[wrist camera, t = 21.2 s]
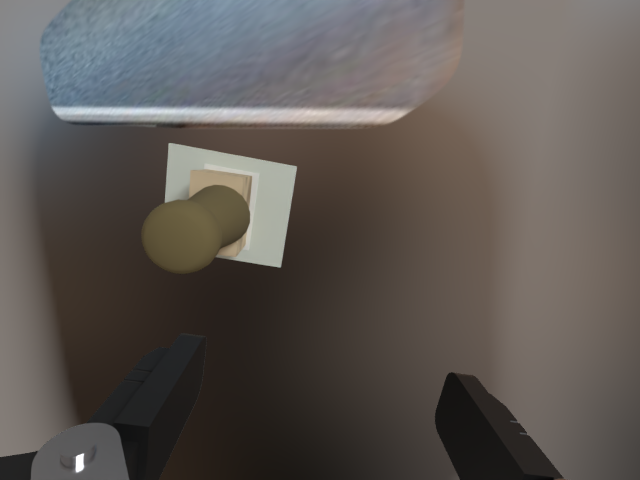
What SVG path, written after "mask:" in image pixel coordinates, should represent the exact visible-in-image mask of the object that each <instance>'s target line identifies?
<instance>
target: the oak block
mask: <svg viewBox="0 0 640 480" xmlns="http://www.w3.org/2000/svg"><path fill="white" fill-rule="evenodd" d="M212 185H225V186H227V187H230V188H232V189H234V190H236V191H237V192H238V193H239V194H241V195H242V196H243V198H244V199H245V201H246V202H247V204H248V207H249V206H250V196H251V186H252V176H249V175H243V174H236V173H229V172H223V171H216V170H209V169H201V170H190V188H189V198H190V197H192V196H193V195H194V194H196V193H197V192H198V191H200V190H202V189H203V188H205V187H207V186H212ZM246 236H247V232H246V233H245V234H244V235H243V236H242V238H241V239H239V240H237V241H236V242H234V243H232V244H230V245H228V246H226V247H223V248H221V249H219V252H218V254H217V255H224V256H232V257H236V256H237V255H238V254H239V253H240V251H241V250H242V249H243V248H244V246H245V245H246Z"/></svg>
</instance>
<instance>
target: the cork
mask: <svg viewBox="0 0 640 480" xmlns="http://www.w3.org/2000/svg"><path fill="white" fill-rule="evenodd" d="M249 224H250V211H249V207H248V204H247V202H246V201H245V199H244V198H243V196H242V195H241V194H239V193H238V192H237V191H236V190H234V189H232V188H230V187H227V186H225V185H212V186H207V187H205V188H203V189H202V190H200V191H198V192H197V193H196V194H194V195H193V196H192V197H190V198H189V199H188V200H179V199H178V200H174V201H170V202H166V203H163V204H161V205H160V206H158V207H156V208H155V209H153V211H152V212H151V213H150V214H149V216H148V217H147V218H146V219H145V221H144V224H143V228H142V231H141V233H142V244H143V247H144V249H145V252H146V254H147V255H148V257H149V258H150V259H151V260H152V262H153V263H155V264H156V265H157V266H159V267H160V268H162V269H163V270H166V271H169V272H172V273H177V274H187V273H191V272H196V271H199V270H201V269H203V268H204V267H206V266H207V265H209V264H210V263H211V262H212V260H213V259H214V258H215V257H216V256H217V254H218V252H219V249H221V248H223V247H226V246H228V245H230V244H232V243H234V242H236V241H237V240H239V239H241V238H242V236H243V235H244V234H245V233H246V232H247V229H248V227H249Z"/></svg>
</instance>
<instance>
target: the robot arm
mask: <svg viewBox="0 0 640 480" xmlns="http://www.w3.org/2000/svg"><path fill="white" fill-rule="evenodd" d="M206 342H207V339H206V337H205V336H197V335H191V334H184V333H182V334H180V335H179V337H178V338H177V339H176V341H175V342H174V343H173V345H172V346H171V347H170V348H162V347H159V348H157V349H155V350H154V351H152V352H150V353H148V354H147V355H145V356H143V358H142V359H141V360H140V361H139V362H138V364H137V365H136V366H135V367H134V368H133V371H131V372H130V373H129V374H128V375H127V376H126V378H125V379H124V381H123V382H121V383H120V384H119V386H118V387H117V388H116V389H115V390H114V392H113V393H112V394H111V395H110V396H109V397H108V398H107V400H106V401H105V402H104V403H103V404H102V405H101V407H100V408H99V409H98V410H97V411H96V412H95V414H94V415H93V416H92V417H91V418H90V419H89V421H88V422H87V423H86V424H82V425H78V426H75V427H72V428H70V429H67V430H65V431H63V432H61V433H59V434H58V435H56V436H55V437H53V438H52V439H50V440H49V441H48V442H47V443H46V444H44V445H43V447H42V448H41V449H40V450H39V451H36V452H31V453H25V454H19V455H12V456H6V457H0V480H159V478H160V476H161V474H162V472H163V470H164V468H165V466H166V464H167V461H168V459H169V457H170V455H171V453H172V451H173V449H174V447H175V445H176V443H177V440H178V438H179V436H180V434H181V432H182V430H183V428H184V426H185V424H186V422H187V419H188V417H189V415H190V413H191V411H192V409H193V407H194V405H195V403H196V400H197V398H198V395H199V392H200V388H201V384H202V379H203V370H204V361H205V352H206ZM435 424H436V429H437V432H438V434H439V436H440V438H441V441H442V442H443V444H444V447H445V449H446V451H447V453H448V455H449V457H450V459H451V462H452V464H453V466H454V468H455V470H456V472H457V474H458V476H459V478H460V480H568V479H564V478H563V477H562V475H561V474H560V473H559V472H558V470H557V469H556V468H555V467H554V465H552V463H551V462H550V461H549V459H548V458H547V457H546V455H545V454H544V453H543V452H542V451H541V449H540V448H539V447H538V446H537V444H536V443H535V442H534V441H533V439H532V438H531V437H530V436H528V435H527V432H526V431H525V429H524V428H523V427H522V426H521V425H520V424H519V423H517V420H516V418H515V417H514V416H513V415H512V413H511V412H510V411H509V410H508V408H507V407H506V406H505V405H503V404H502V403H501V402H500V401H499V400H497V399H496V398H495V397H494V396H492V395H491V394H489V393H488V392H487V390H486V389H485V388H484V387H483V385H482V384H481V383H480V381H479V380H478V379H477V378H476V377H475V376H473V375H466V374H460V373H452V372H451V373H449V374H448V375H447V377H446V380H445V383H444V386H443V390H442V393H441V396H440V399H439V402H438V405H437V408H436V413H435Z"/></svg>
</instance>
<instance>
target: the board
mask: <svg viewBox="0 0 640 480" xmlns="http://www.w3.org/2000/svg"><path fill="white" fill-rule="evenodd" d="M201 169H209V170H216V171H223V172H229V173H236V174H243V175H249V176H252V186H251V196H250V206H249V211H250V224H249V227H248V229H247V236H246V245H245V246H244V248H243V249H242V250H241V251H240V253H239V254H238V255H237V256H236V257H232V256H224V255H217V256H216V257H218V258H224V259H230V260H237V261H243V262H249V263H256V264H261V265H267V266H274V267H281V263H282V256H283V251H284V244H285V238H286V232H287V225H288V219H289V213H290V207H291V200H292V195H293V188H294V182H295V176H296V170H297V167H296V166H291V165H286V164H281V163H275V162H270V161H264V160H259V159H253V158H248V157H243V156H237V155H232V154H227V153H221V152H216V151H211V150H205V149H200V148H194V147H188V146H184V145H178V144H173V143H169V148H168V162H167V177H166V191H165V192H166V193H165V203H166V202H170V201H174V200H178V199H179V200H188V199H189V188H190V170H201Z"/></svg>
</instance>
